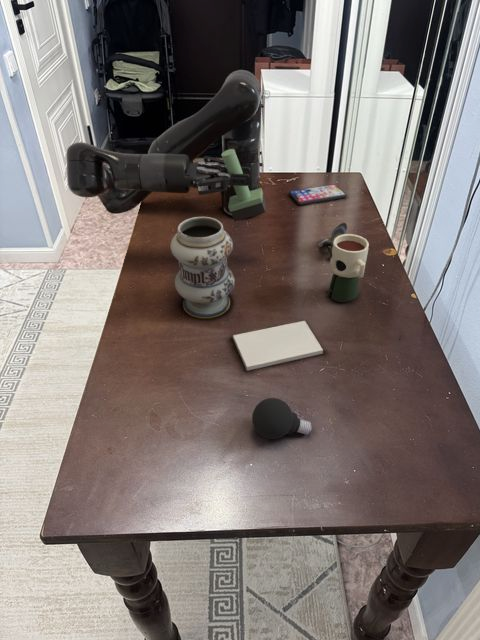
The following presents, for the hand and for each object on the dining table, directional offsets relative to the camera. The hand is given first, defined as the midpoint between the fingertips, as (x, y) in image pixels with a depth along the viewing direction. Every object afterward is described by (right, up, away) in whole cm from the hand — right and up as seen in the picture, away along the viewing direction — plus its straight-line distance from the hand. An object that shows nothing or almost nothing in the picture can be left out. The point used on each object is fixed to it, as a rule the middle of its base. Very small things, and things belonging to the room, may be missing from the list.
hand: (249, 176), depth 101 cm
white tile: (+6, -35, -7) cm, 36 cm away
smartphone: (+18, +8, +39) cm, 44 cm away
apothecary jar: (-9, -26, +2) cm, 28 cm away
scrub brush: (0, -6, +5) cm, 8 cm away
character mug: (+20, -24, +5) cm, 32 cm away
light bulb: (+5, -49, -21) cm, 54 cm away
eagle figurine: (+20, -12, +18) cm, 29 cm away
